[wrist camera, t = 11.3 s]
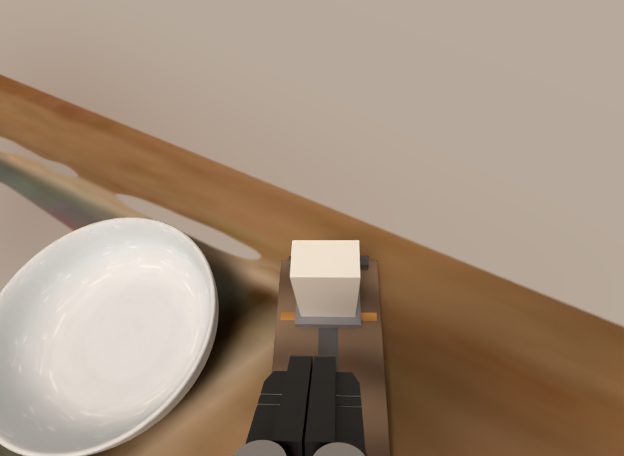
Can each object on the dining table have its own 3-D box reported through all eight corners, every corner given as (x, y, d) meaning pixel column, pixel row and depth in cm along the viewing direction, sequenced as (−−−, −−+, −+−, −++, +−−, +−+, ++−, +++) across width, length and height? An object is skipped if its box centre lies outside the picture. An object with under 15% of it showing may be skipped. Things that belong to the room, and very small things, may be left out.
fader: (360, 328, 34) (368, 286, 25) (296, 327, 34) (282, 286, 26) (358, 284, 36) (365, 232, 28) (298, 283, 37) (286, 232, 28)
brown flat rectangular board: (391, 528, 28) (397, 537, 26) (263, 522, 29) (256, 529, 26) (375, 268, 40) (378, 255, 37) (283, 268, 40) (279, 255, 38)
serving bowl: (140, 219, 45) (110, 185, 39) (275, 309, 38) (263, 283, 32) (-15, 368, 37) (-83, 352, 31) (121, 518, 30) (67, 534, 24)
